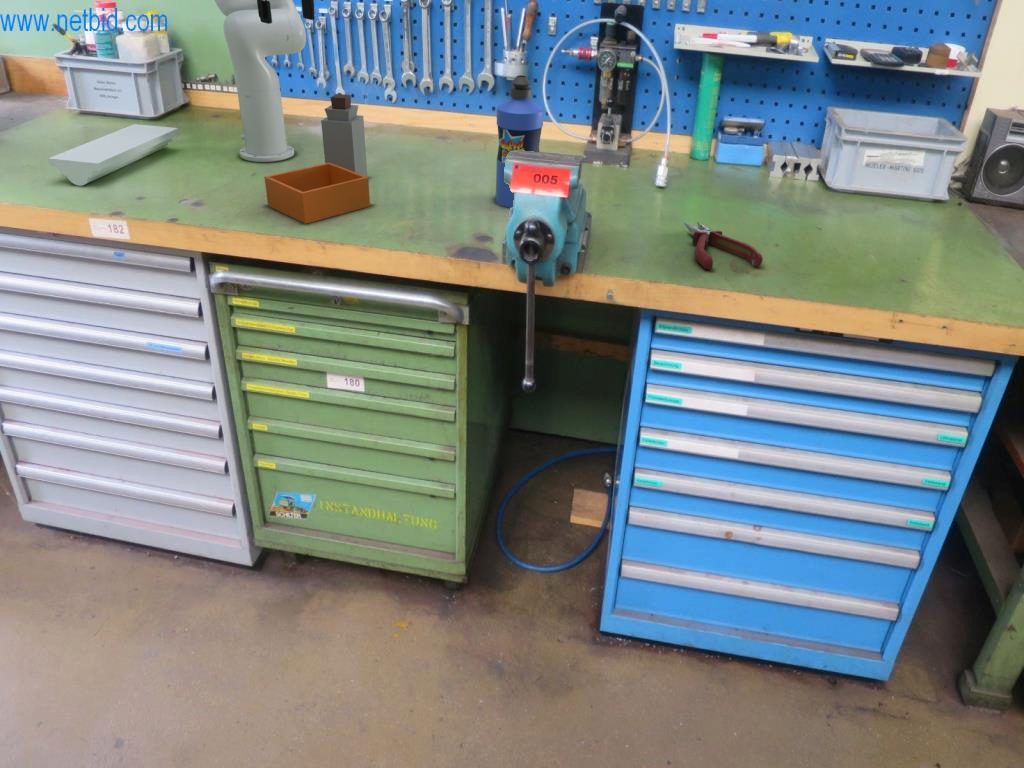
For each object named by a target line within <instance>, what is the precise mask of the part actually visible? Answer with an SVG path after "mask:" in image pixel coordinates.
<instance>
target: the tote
mask: <svg viewBox="0 0 1024 768" xmlns="http://www.w3.org/2000/svg"><path fill="white" fill-rule="evenodd" d="M263 179H264V185H265V192H266V200H267V206H268V207H270V208H272V209H274V210H276V211H278V212H281V213H282V214H284V215H286V216H288V217H291V218H293V219H294V220H296V221H298V222H301V223H303V224H305V225H306V224H310V223H314V222H318V221H322V220H325V219H329V218H332V217H337V216H340V215H343V214H347V213H352V212H354V211H358V210H361V209H366V208H369V207H371V197H370V184H369V182H370V181H369V176H367V177H366V176H363V175H361V174H358V173H355V172H353V171H350V170H348V169H345V168H343V167H340V166H337V165H335V164H332V163H330V162H329V163H325V162H324V163H320V164H315V165H311V166H307V167H306V166H305V167H302V168H297V169H293V170H288V171H285V172H280V173H275V174H271V175H266V176H263Z"/></svg>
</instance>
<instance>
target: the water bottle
mask: <svg viewBox="0 0 1024 768" xmlns="http://www.w3.org/2000/svg"><path fill="white" fill-rule="evenodd" d="M511 84H512V85H513V86H511V87H510V88H509V96H510V98H509V100H508V101H505V102H503V103H501V104H499V105H497V107H496V126H497V133H498V136H497V137H498V148H497V155H496V172H495V203H496V204H497V205H500V206H502V207H505V208H510V209H513V208H512V207H513V200H514V193H512V192H511V191H510V188H509V185H508V184H506V183H505V182H504V167H505V161H506V156H507V154H508V153H509V152H510V151H513V150H525V151H534V152H539V153H540V141H541V136H542V129H543V126H544V114H545V113H544V112H545V109H544V107H543V106H541V105H540V104H537V103H536V102H534V101H533V100H532V99H531V98H532V94H533V93H532V91H533V88H532V87H531V86H530V85H531V84H532V81H530V79H529V78H528V77H527V75H522V74H521V75H520V74H519V75H517V76H516V77H514V78H513V79H512V81H511Z"/></svg>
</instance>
